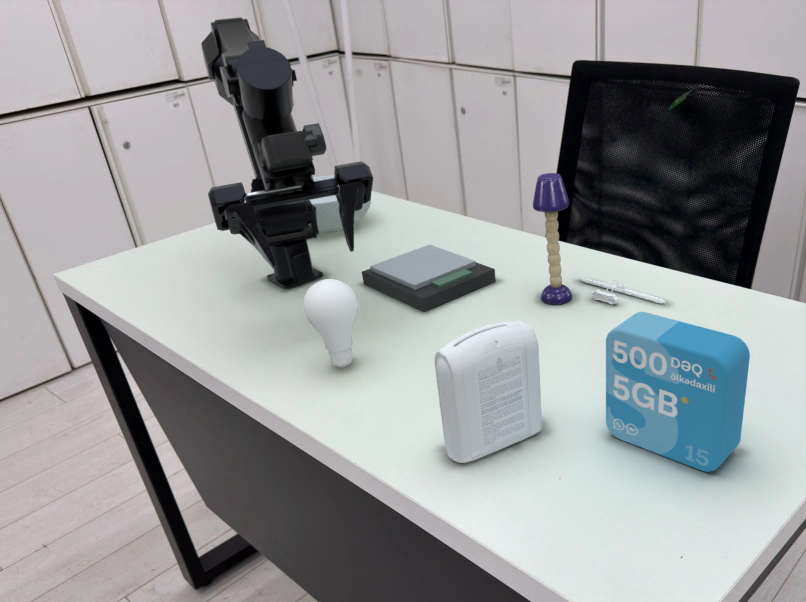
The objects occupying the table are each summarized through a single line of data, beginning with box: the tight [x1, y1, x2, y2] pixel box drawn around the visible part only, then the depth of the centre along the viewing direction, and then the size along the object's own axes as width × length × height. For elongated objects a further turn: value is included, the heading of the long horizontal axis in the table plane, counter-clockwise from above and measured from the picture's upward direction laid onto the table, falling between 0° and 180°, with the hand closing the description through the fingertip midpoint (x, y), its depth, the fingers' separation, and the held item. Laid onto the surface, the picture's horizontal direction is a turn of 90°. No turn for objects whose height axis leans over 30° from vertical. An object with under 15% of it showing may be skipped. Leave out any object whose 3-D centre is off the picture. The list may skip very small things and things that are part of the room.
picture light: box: [579, 277, 666, 305], centre depth 100 cm, size 14×4×2 cm, turn 48°
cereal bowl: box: [310, 174, 372, 235], centre depth 132 cm, size 17×17×7 cm
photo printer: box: [434, 320, 543, 464], centre depth 70 cm, size 10×4×12 cm, turn 123°
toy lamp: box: [532, 172, 573, 305], centre depth 97 cm, size 5×5×17 cm
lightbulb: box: [302, 278, 359, 369], centre depth 86 cm, size 6×6×11 cm
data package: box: [605, 311, 751, 473], centre depth 68 cm, size 12×4×12 cm, turn 50°
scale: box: [361, 244, 497, 312], centre depth 108 cm, size 15×13×3 cm
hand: (314, 258), depth 87 cm, fingers open, 9 cm apart
